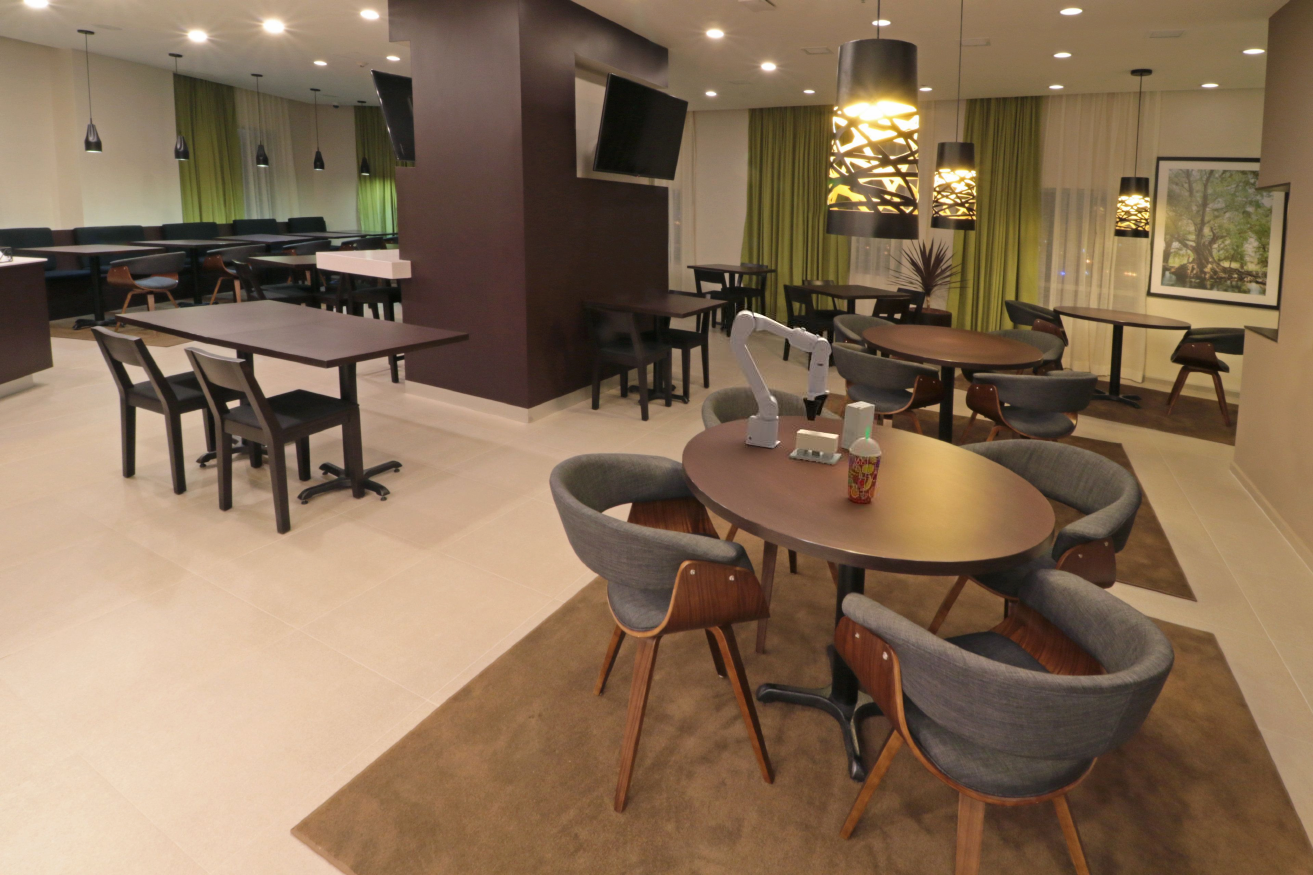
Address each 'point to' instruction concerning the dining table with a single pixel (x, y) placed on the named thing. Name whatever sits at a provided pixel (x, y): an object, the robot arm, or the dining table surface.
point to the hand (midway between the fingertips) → (813, 417)
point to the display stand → (815, 456)
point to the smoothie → (863, 469)
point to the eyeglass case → (817, 441)
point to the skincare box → (857, 422)
